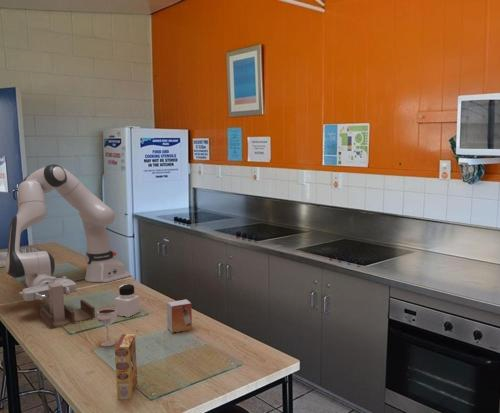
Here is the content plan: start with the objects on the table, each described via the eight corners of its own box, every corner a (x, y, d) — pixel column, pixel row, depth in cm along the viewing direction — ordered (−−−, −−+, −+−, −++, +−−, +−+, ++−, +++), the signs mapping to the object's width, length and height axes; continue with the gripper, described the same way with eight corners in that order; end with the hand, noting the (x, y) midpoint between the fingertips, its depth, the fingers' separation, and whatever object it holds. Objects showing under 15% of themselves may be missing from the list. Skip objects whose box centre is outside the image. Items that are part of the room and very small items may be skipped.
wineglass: (107, 348, 163) (105, 315, 161) (93, 344, 166) (92, 311, 165) (122, 341, 168) (120, 309, 167) (108, 337, 172) (107, 305, 170)
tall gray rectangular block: (60, 316, 191) (58, 282, 189) (64, 319, 187) (62, 285, 185) (50, 318, 188) (48, 284, 187) (54, 322, 185) (52, 287, 183)
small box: (171, 333, 175) (171, 306, 174) (167, 328, 180) (166, 301, 179) (192, 330, 179) (191, 303, 178) (187, 325, 184) (186, 298, 183)
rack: (83, 309, 201) (82, 299, 200) (95, 318, 191) (94, 307, 190) (40, 319, 190) (40, 308, 189) (50, 328, 180) (50, 317, 179)
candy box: (132, 399, 131) (130, 346, 128) (116, 400, 130) (114, 346, 128) (137, 383, 139) (136, 333, 137) (123, 384, 139) (121, 333, 137)
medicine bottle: (139, 312, 198) (139, 284, 196) (128, 317, 192) (127, 288, 190) (126, 309, 201) (125, 282, 199) (114, 315, 195) (113, 286, 193)
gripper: (17, 284, 192) (27, 293, 181) (69, 275, 204) (80, 282, 194) (18, 299, 192) (28, 309, 182) (69, 289, 205) (81, 297, 195)
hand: (55, 295), depth 188 cm, fingers open, 8 cm apart
